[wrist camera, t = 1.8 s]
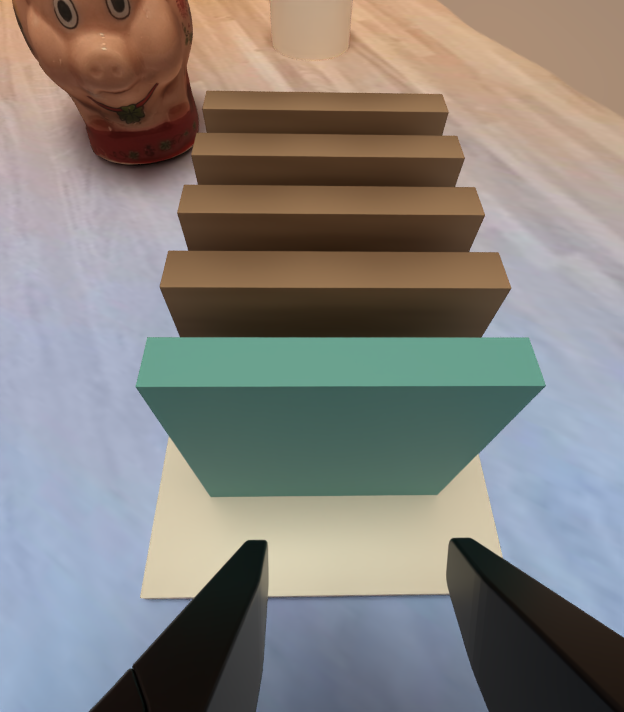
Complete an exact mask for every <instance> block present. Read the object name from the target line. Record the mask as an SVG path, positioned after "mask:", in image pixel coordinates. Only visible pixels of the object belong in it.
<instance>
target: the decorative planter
mask: <svg viewBox="0 0 624 712" xmlns="http://www.w3.org/2000/svg"><path fill="white" fill-rule="evenodd" d="M12 3H13V8H14V12H15V15H16V19H17V22H18V25H19V27H20V29H21V32H22V34H23V36H24V38H25V40H26V43H27V45H28V47H29V48H30V50H31V52H32V54H33V55H34V57H35V58H36V59H37V60H38V62H39V65H40V66H41V68H42V69H43V71H44V72H45V73H46V74H47V75H48V76H49V77H50V79H51V80H52V81H53V82H55V83H56V84H57V85H58V86H59V87H61V88H62V89H63V90H65V91H66V92H67V93H68V94H69V96H70V97H71V98H72V100H73V102H74V103H75V105H76V107H77V108H78V110H79V112H80V114H81V116H82V117H83V119H84V122H85V124H86V129H87V133H88V137H89V140H90V144H91V147H92V149H93V152H94V153H95V154H96V155H98V156H100V157H102V158H104V159H106V160H108V161H111V162H114V163H121V164H146V163H153V162H157V161H162V160H166V159H170V158H173V157H175V156H178V155H180V154H182V153H184V152H185V151H187V150H188V149H190V148H191V147H192V146H193V145H194V141H195V137H196V133H198V128H199V121H198V113H197V108H196V105H195V101H194V98H193V95H192V91H191V87H190V82H189V77H188V73H187V62H188V58H189V53H190V49H191V45H192V37H193V26H192V18H191V12H190V7H189V4H188V0H12Z"/></svg>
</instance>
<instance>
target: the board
mask: <svg viewBox="0 0 624 712" xmlns="http://www.w3.org/2000/svg"><path fill="white" fill-rule="evenodd" d="M467 537H469V538H472V539H474V540H476V541H477V542H479V543H480V544H482V545H483V546H485V547H486V548H488V549H489V550H491V551H492V552H494V553H495V554H497V555H498V556H500V557H501V558H503V557H502V553H501V548H500V544H499V540H498V535H497V531H496V527H495V523H494V518H493V514H492V510H491V506H490V501H489V497H488V493H487V489H486V484H485V480H484V476H483V471H482V467H481V463H480V459H479V454H478V455H477V456H476V457H475V458H474V459H473V460H472V461H471V462H470V463H469V464H468V465H467V466H466V467H465V468H464V469H463V470H462V471H461V472H460V473H459V474H458V475H457V476H456V477H455V478H454V479H453V480H452V481H451V482H450V483H449V484H448V485H447V486H446V487H445V488H444V489H443V490H442V491H441V492H440V493H439V494H438V495H383V496H270V497H210V496H209V494H208V493H207V491H206V490H205V488H204V487H203V485H202V484H201V482H200V481H199V479H198V478H197V476H196V475H195V474H194V472H193V471H192V469H191V468H190V466H189V465H188V463H187V462H186V460H185V459H184V457H183V456H182V454H181V453H180V451H179V450H178V448H177V447H176V446H175V444H174V443H173V441H172V440H171V438H170V437H169V439H168V444H167V450H166V456H165V461H164V467H163V472H162V478H161V483H160V489H159V495H158V500H157V506H156V511H155V517H154V523H153V528H152V534H151V539H150V545H149V551H148V556H147V562H146V567H145V573H144V579H143V584H142V590H141V595H140V598H143V599H191V598H194V597H195V596H196V595H197V594H198V593H199V592H200V591H201V590H202V589H203V587H204V586H205V585H206V584H207V583H208V582H209V581H210V580H211V579H212V578H213V576H214V575H215V574H216V573H217V572H218V571H219V570H220V569H221V568H222V567H223V565H224V564H225V563H226V562H227V561H228V560H229V559H230V558H231V557H232V556H233V555H234V553H235V552H236V551H237V550H238V549H239V548H240V547H241V546H242V545H243V544H244V542H246V541H247V540H266V541H267V542H268V567H269V586H268V597H328V596H396V595H450V594H449V590H448V587H447V581H446V568H447V555H448V544H449V541H450V539H452V538H467Z"/></svg>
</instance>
